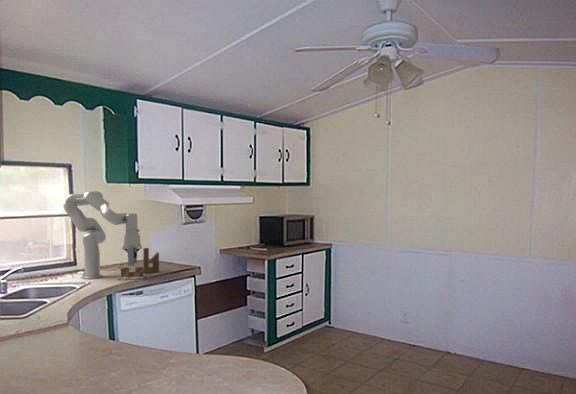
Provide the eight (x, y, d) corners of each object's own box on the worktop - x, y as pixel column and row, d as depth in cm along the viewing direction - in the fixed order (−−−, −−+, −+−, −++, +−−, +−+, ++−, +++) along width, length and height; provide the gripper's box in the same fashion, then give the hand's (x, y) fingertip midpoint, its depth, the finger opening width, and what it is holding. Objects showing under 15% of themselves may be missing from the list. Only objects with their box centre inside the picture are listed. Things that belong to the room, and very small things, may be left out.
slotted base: (117, 280, 277) (117, 269, 277) (122, 276, 288) (122, 266, 288) (142, 279, 279) (142, 268, 279) (146, 275, 290) (146, 265, 290)
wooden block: (159, 271, 303) (158, 247, 303) (144, 273, 297) (144, 248, 296) (157, 271, 306) (157, 246, 306) (142, 272, 300) (142, 248, 299)
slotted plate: (128, 265, 278) (127, 247, 277) (132, 262, 288) (131, 245, 288) (132, 265, 278) (132, 247, 278) (136, 262, 289) (136, 245, 289)
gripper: (145, 230, 287) (146, 256, 288) (120, 231, 285) (121, 257, 286) (142, 231, 280) (143, 258, 280) (117, 232, 278) (118, 259, 278)
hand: (132, 258), depth 283 cm, fingers closed on slotted plate, 3 cm apart
